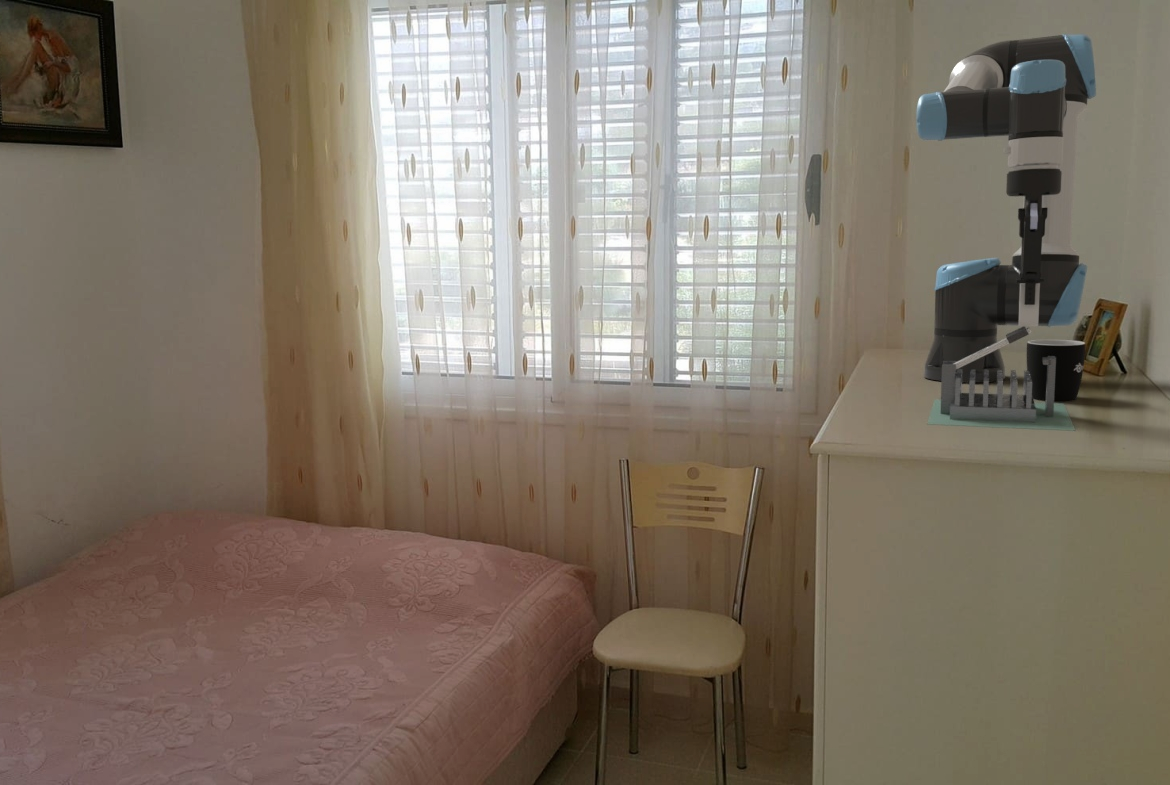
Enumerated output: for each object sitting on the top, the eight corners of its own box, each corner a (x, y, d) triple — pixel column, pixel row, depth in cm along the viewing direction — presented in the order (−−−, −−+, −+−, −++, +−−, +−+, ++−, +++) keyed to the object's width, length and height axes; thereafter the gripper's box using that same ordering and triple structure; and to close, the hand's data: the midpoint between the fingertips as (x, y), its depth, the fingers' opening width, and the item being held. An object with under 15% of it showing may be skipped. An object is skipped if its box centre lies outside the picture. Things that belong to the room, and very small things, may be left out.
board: (934, 402, 174) (934, 399, 173) (1063, 407, 166) (1063, 403, 166) (926, 428, 151) (927, 424, 151) (1075, 434, 144) (1075, 430, 144)
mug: (1079, 407, 166) (1082, 345, 164) (1020, 403, 170) (1022, 343, 169) (1087, 397, 176) (1090, 338, 174) (1031, 393, 180) (1034, 337, 179)
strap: (947, 372, 163) (944, 365, 163) (1031, 331, 158) (1027, 324, 158) (946, 376, 158) (942, 368, 158) (1033, 334, 153) (1028, 327, 153)
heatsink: (942, 404, 168) (944, 350, 167) (1050, 408, 162) (1052, 352, 161) (939, 418, 155) (940, 360, 154) (1055, 423, 150) (1058, 362, 148)
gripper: (1006, 172, 159) (1001, 322, 163) (1007, 167, 147) (1002, 329, 151) (1058, 169, 156) (1052, 322, 160) (1064, 164, 144) (1057, 329, 148)
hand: (1028, 325), depth 155 cm, fingers closed
